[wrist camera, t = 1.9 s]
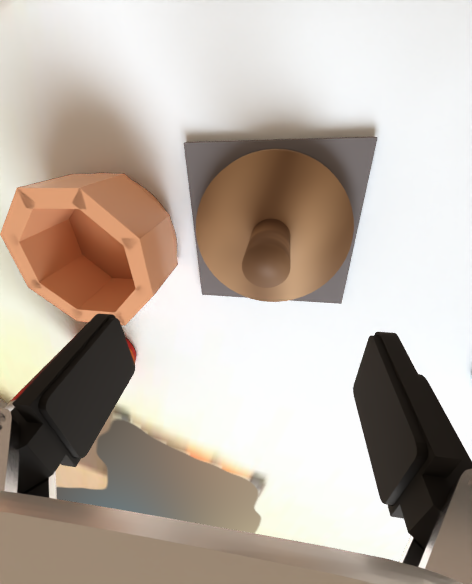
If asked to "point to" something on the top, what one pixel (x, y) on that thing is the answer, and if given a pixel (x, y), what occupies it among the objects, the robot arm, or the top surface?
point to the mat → (329, 151)
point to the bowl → (91, 243)
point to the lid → (274, 225)
